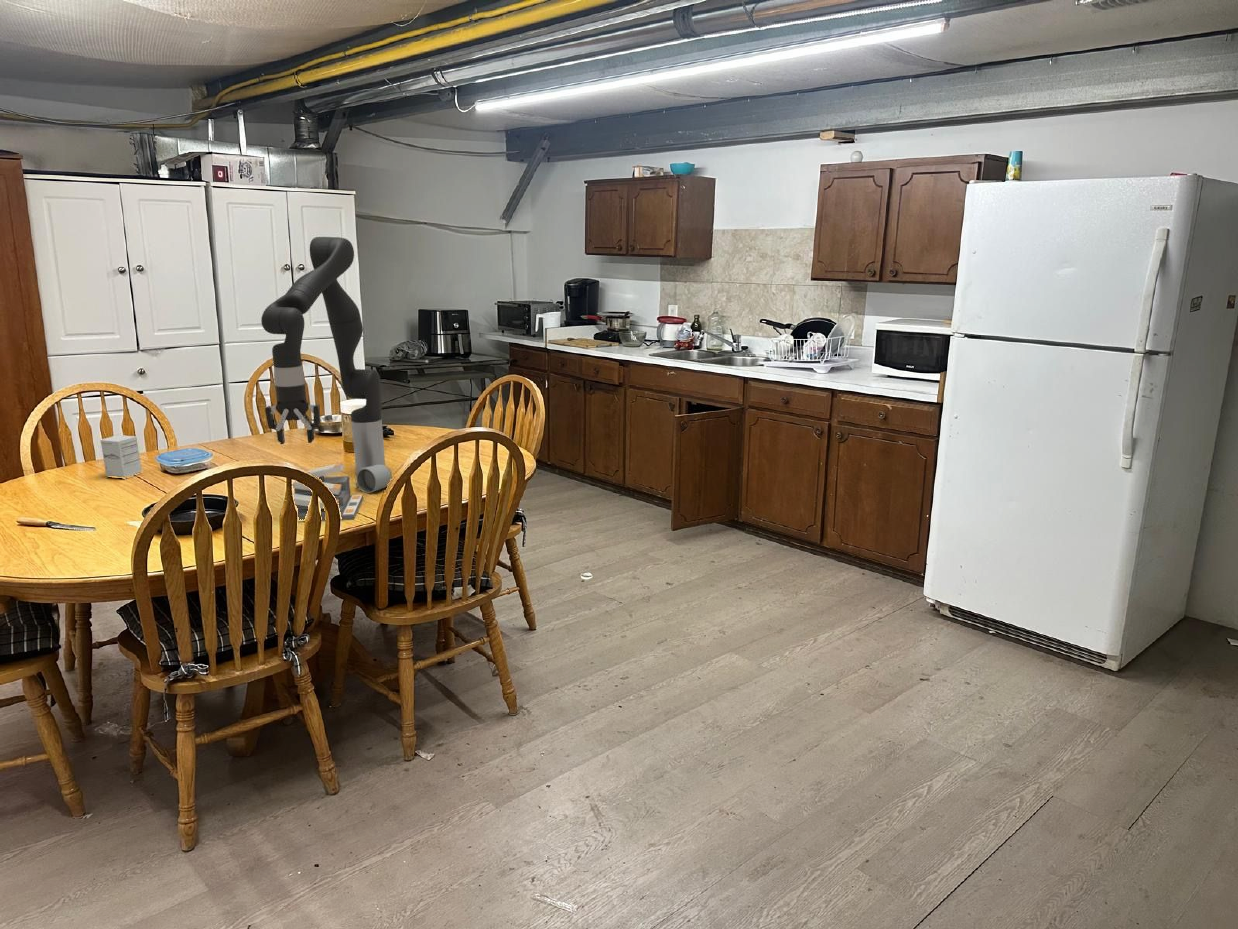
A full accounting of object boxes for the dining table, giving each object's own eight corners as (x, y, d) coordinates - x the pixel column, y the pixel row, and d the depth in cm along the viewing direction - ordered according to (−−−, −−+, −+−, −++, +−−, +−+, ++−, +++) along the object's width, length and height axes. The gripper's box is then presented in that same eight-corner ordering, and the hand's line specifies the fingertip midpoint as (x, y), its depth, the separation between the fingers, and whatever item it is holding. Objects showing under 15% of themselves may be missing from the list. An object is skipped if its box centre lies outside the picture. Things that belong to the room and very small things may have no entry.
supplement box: (105, 478, 269) (99, 439, 266) (125, 472, 276) (118, 434, 273) (124, 480, 267) (117, 441, 264) (143, 474, 274) (137, 435, 270)
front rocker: (292, 499, 233) (293, 493, 233) (338, 505, 235) (338, 499, 235) (289, 503, 229) (290, 497, 229) (335, 510, 231) (336, 504, 231)
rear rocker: (302, 477, 244) (300, 471, 243) (343, 467, 245) (342, 461, 244) (299, 481, 240) (297, 475, 239) (341, 471, 241) (339, 465, 240)
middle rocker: (296, 483, 238) (297, 477, 238) (340, 490, 240) (341, 484, 240) (293, 488, 234) (294, 482, 234) (338, 494, 236) (339, 488, 236)
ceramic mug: (394, 487, 260) (392, 462, 258) (377, 494, 253) (374, 469, 250) (367, 483, 264) (365, 459, 262) (349, 490, 257) (346, 466, 255)
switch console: (299, 501, 247) (296, 474, 244) (363, 498, 249) (360, 471, 247) (284, 522, 229) (281, 493, 227) (354, 519, 232) (351, 490, 230)
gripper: (320, 379, 233) (326, 438, 238) (265, 381, 231) (272, 440, 235) (315, 384, 226) (321, 445, 230) (258, 386, 224) (265, 447, 228)
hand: (296, 442), depth 233 cm, fingers open, 6 cm apart
